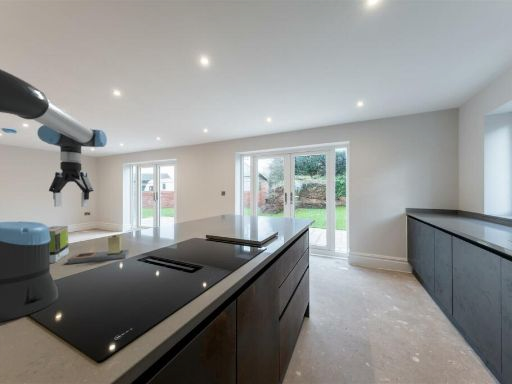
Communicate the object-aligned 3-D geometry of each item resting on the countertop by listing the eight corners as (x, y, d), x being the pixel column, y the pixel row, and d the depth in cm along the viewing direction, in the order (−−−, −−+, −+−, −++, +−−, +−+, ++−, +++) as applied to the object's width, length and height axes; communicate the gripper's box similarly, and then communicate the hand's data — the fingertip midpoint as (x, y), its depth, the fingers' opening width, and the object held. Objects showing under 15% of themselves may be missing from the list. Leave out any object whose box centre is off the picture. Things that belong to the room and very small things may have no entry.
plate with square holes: (125, 258, 100) (125, 253, 100) (67, 263, 92) (67, 258, 92) (128, 253, 107) (128, 248, 107) (75, 258, 99) (75, 253, 99)
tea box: (43, 256, 103) (43, 226, 103) (69, 253, 107) (69, 225, 107) (25, 266, 89) (25, 231, 89) (56, 263, 93) (55, 230, 93)
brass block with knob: (119, 257, 100) (119, 236, 100) (108, 258, 99) (108, 237, 99) (121, 255, 105) (121, 234, 105) (111, 256, 103) (111, 235, 103)
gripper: (102, 163, 102) (102, 206, 102) (54, 163, 104) (54, 205, 104) (89, 160, 95) (89, 207, 95) (38, 161, 96) (38, 207, 96)
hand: (71, 206), depth 99 cm, fingers open, 13 cm apart
